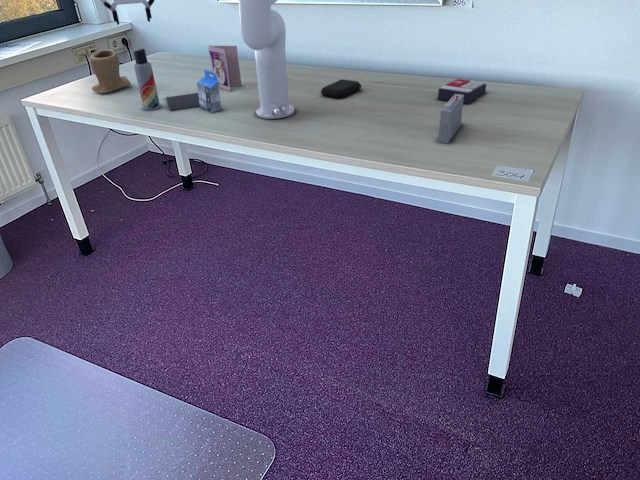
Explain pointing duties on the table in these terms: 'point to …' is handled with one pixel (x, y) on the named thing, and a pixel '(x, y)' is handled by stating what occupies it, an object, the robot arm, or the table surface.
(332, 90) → the carrying case
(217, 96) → the label tape box
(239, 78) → the greeting card
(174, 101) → the mat
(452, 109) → the cassette player
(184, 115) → the table surface
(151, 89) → the lotion bottle
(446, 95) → the grey and red box
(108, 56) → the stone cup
